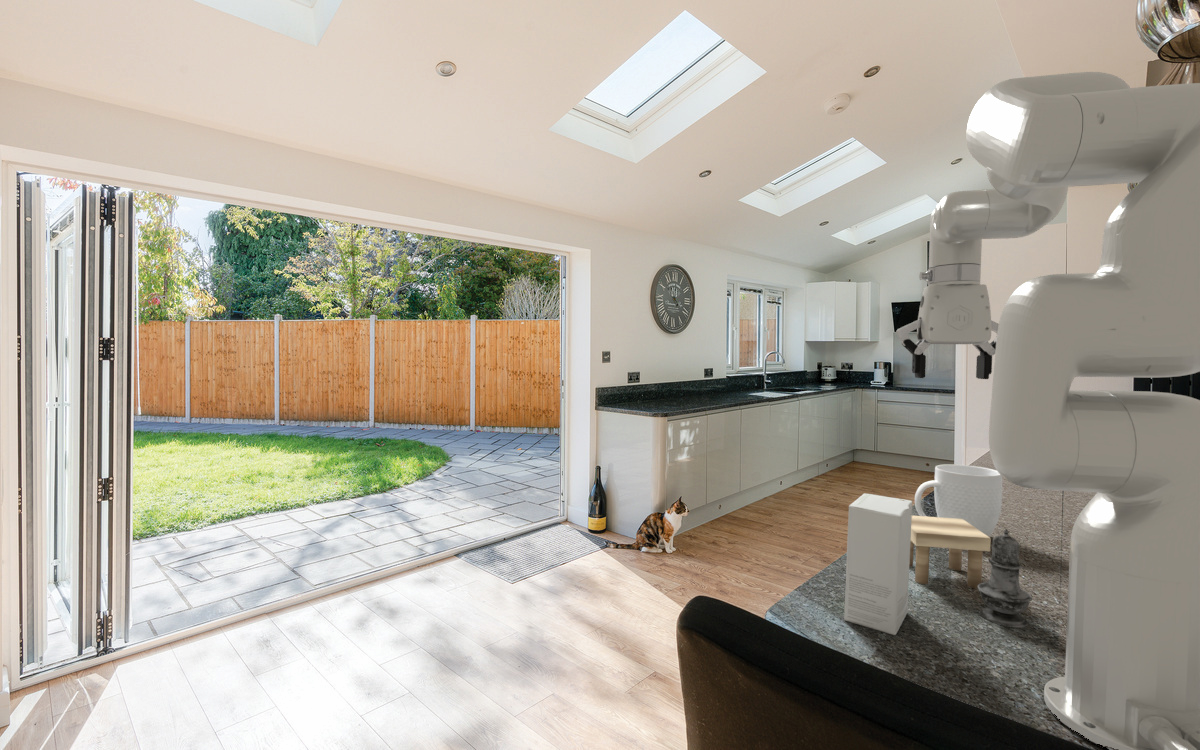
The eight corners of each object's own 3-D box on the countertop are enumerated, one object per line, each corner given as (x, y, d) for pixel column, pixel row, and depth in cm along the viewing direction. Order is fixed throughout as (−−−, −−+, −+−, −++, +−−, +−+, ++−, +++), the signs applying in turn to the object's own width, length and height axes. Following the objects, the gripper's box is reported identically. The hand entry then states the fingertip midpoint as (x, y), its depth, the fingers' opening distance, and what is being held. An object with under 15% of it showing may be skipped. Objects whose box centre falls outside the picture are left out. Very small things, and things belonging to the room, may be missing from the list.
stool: (988, 591, 82) (990, 538, 82) (914, 584, 84) (916, 532, 84) (960, 566, 92) (962, 518, 91) (895, 560, 94) (896, 514, 94)
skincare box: (859, 599, 79) (862, 491, 78) (912, 614, 75) (915, 499, 74) (842, 621, 72) (845, 503, 72) (898, 638, 68) (902, 513, 67)
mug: (927, 542, 103) (929, 473, 103) (902, 525, 114) (904, 462, 114) (1013, 547, 101) (1016, 476, 101) (980, 528, 112) (982, 465, 112)
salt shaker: (1041, 631, 70) (1044, 538, 70) (989, 626, 71) (992, 534, 71) (1016, 610, 76) (1019, 524, 76) (968, 605, 77) (971, 521, 77)
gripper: (905, 276, 92) (902, 378, 93) (1023, 273, 89) (1019, 380, 89) (892, 282, 100) (889, 376, 100) (1000, 280, 96) (997, 378, 96)
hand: (950, 378), depth 95 cm, fingers open, 9 cm apart
